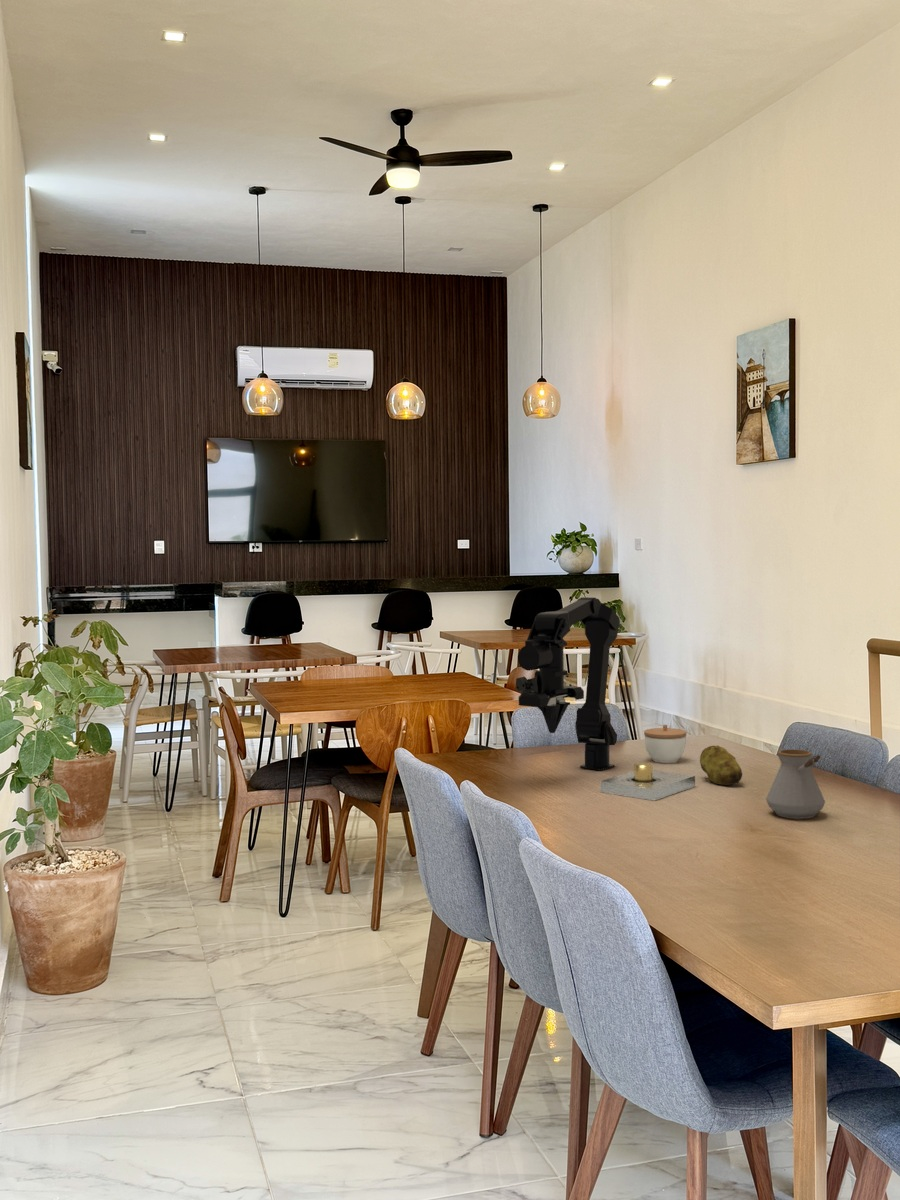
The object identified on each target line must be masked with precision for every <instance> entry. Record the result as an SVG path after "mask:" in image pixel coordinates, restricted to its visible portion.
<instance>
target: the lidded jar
mask: <svg viewBox="0 0 900 1200" xmlns="http://www.w3.org/2000/svg"><path fill="white" fill-rule="evenodd" d="M662 726H663V727H655V728H654V727H653V728H647V729H645V730H643V731H644V733H643V735H644V745H645V750H646V752H647V754H648V755H649V757H650V758H651V759H652V761H653V762H654V761H655V762H654V763H660V764H674V763H678V760H680V759H681V757H682V756H683V755H684V753H685V751H686V750H685V749H686V744H687V730H684V729H680V728H671V727H668V724H662Z"/></svg>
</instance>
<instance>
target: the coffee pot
mask: <svg viewBox="0 0 900 1200" xmlns="http://www.w3.org/2000/svg"><path fill="white" fill-rule="evenodd" d="M777 754H778V756H779V757H780V760H781V761H782V762H781V764H780V766H779V769H778V771H777V773H776V775H775V777H774V780H773V782H772V784H771V787H770V789H769V791H768V794H767V796H766V797H765V800H766V803H767V805H768V807H769V808H770V809H771V810H772V811H774V812H775V815H777V816H779V817H781V818H782V817H783V818H787V819H801V820H802V819H811V818H814V817H816V815H817V814H819V813H820V812H821V811H822V810H823V808H824V806H825V804H826V801H825V799H824V796H823V794H822V792H821V789H820V787H819V784H818V781H817V779H816V777H815V775H814V773H813V771H812V768H811V766H813V765H815V766H817V767H821V766H823V765H824V764H825V763H826V761H825V758H823V757H822V756H821V755H819V754H818V755H813V756H812V754H813V753H812V751H808V750H803V749H782V750H779V751H778V752H777ZM810 756H812V758H810ZM821 759H822V760H823V763H822V764H820V765H819V764H816V763H817V762H819V760H821Z"/></svg>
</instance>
